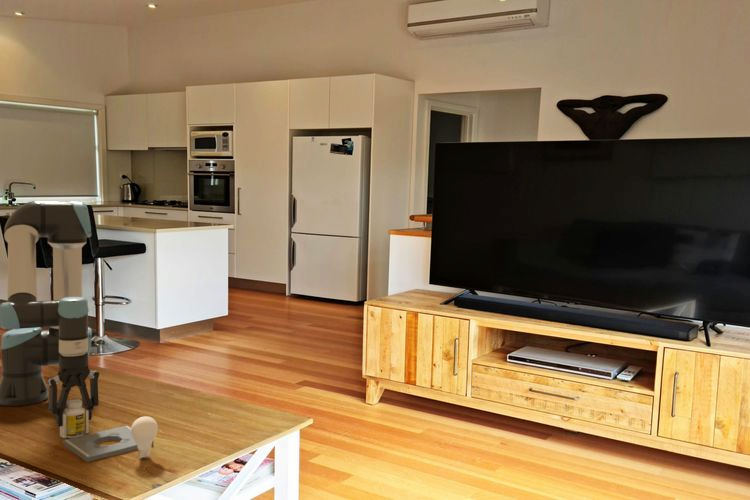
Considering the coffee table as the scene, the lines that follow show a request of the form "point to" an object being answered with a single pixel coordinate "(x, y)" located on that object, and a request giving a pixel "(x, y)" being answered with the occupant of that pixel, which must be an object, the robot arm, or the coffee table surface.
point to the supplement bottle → (75, 419)
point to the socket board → (92, 451)
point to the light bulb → (144, 434)
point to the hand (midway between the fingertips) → (74, 434)
